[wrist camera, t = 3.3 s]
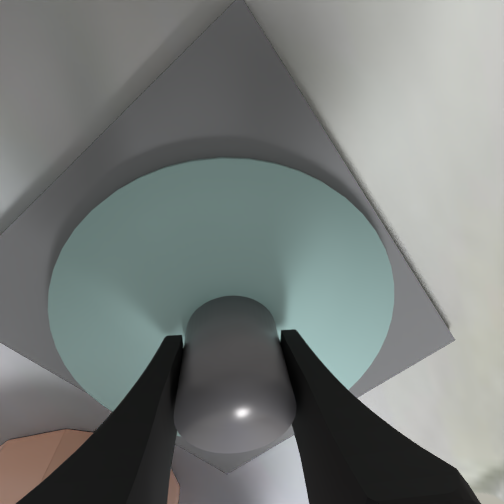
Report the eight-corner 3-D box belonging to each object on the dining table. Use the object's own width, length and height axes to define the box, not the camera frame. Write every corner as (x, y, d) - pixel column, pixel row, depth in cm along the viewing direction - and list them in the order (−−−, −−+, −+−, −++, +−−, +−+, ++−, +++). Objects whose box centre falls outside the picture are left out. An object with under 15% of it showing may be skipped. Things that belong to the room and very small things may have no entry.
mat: (448, 333, 16) (455, 340, 16) (226, 465, 19) (226, 474, 19) (239, 1, 9) (240, -5, 9) (-58, 296, 12) (-68, 303, 12)
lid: (436, 328, 15) (516, 410, 11) (217, 461, 18) (216, 563, 14) (258, 55, 9) (288, 13, 5) (-24, 318, 12) (-146, 423, 8)
